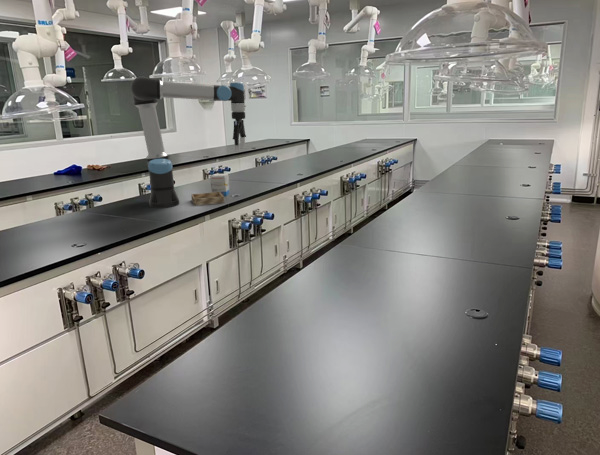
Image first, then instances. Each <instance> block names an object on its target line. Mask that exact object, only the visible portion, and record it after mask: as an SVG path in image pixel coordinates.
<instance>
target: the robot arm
mask: <svg viewBox="0 0 600 455" xmlns="http://www.w3.org/2000/svg"><path fill="white" fill-rule="evenodd" d="M244 86H245V85H244V83H242V82H230V83H229V85H225V84H224V85H223V84H222V85H221V84H220V85H217V84H204V83H203V84H201V83H189V82H187V83H186V82H173V81H172V82H171V81H162V80H161V79H157V78H151V77H147V76H138V77H136V78H133V80H132V81H131V84H130V91H131V95H132V100H133V104H134V107H136V108H137V109H138V113H139V117H140V121H141V127H142V132H143V136H144V141H145V144H146V149H147V154H148V155H146V157H145V158H146V163H147V164H146V165H147V169H148V174H149V182H150V197H149V200H148V203H149V207H150V208H157V209H159V208H160V209H161V208H170V207H174V206H175V207H176V206H178V205H179V204H180V200H179V197H178V194H177V192H176V189H175V184H174V174H173V173H174V172H173V163H172V161H171V160H170V156H169V154H168V153H167V152H165V147H164V142H163V138H162V133H161V127H160V121H159V118H158V114H157V113H158V112H157V105H158V103H159V102H158V100H162V99H163V98H165V99H181V100H182V99H183V100H185V99H186V100H202V101H203V100H204V101H205V100H206V101H212V102H221V101H222V102H229V101H230V109H231V119H232V120H234V121H233V132H232V134H233V135H232V140H234V142H233V143H234V152H241V149H242V150H243V149H244V150H245V149H246V139H245V138H247V135H246V132H245V123H244V122H245V121H244V119H246V112H245V111H246V106H247V105H246V104H245V87H244Z"/></svg>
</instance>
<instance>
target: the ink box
mask: <svg viewBox="0 0 600 455" xmlns="http://www.w3.org/2000/svg"><path fill="white" fill-rule="evenodd" d="M229 178H230V177H229V174H228V173H214V174H212V175H210V177H209V179H210V188H211V193H213V192H220V193H221V194H222V195H223V196H224V197H227V196H229V194H230V193H231V192H230V182H229V181H230V179H229Z"/></svg>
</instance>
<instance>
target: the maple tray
mask: <svg viewBox="0 0 600 455" xmlns="http://www.w3.org/2000/svg"><path fill="white" fill-rule="evenodd" d="M191 202H192V203H193V205H194V206H203V205H212V204H213V205H214V204H215V205H216V204H224V203H225V196H223V195H222V194H221V193H220V192H213V193H212V192H202V193H191Z"/></svg>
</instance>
